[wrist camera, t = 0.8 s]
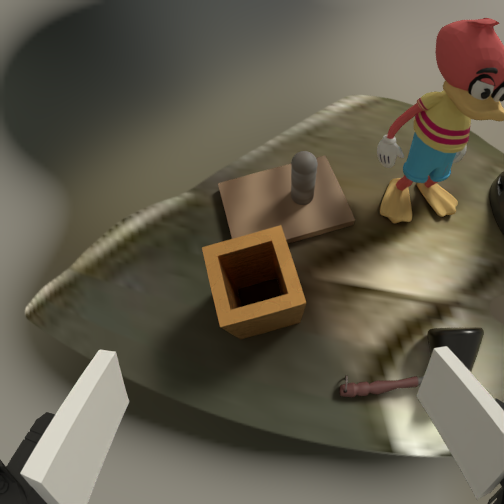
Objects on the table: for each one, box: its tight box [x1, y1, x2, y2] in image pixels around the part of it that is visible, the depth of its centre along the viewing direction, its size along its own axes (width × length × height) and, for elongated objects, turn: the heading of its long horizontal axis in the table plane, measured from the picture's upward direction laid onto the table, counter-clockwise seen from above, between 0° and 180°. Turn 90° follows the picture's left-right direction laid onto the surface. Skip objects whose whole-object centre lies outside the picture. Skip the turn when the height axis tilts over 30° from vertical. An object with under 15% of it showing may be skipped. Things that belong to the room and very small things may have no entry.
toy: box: [377, 18, 504, 223], centre depth 27 cm, size 15×10×30 cm
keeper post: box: [218, 151, 355, 244], centre depth 37 cm, size 16×11×10 cm
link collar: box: [202, 225, 306, 339], centre depth 32 cm, size 7×7×12 cm
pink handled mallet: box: [340, 328, 484, 397], centre depth 31 cm, size 8×18×8 cm
